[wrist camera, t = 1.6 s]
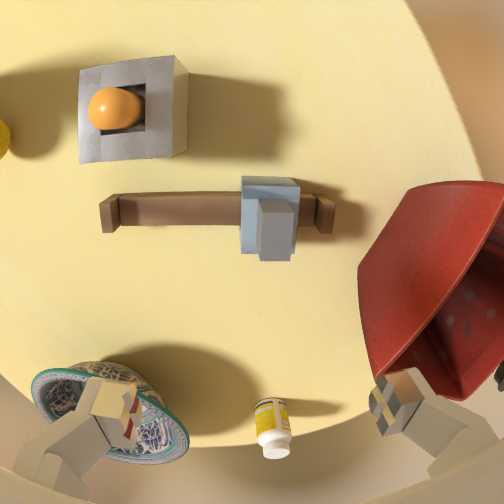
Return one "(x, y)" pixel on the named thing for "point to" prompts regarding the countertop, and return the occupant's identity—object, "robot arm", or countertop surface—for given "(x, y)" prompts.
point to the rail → (200, 209)
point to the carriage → (269, 217)
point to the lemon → (4, 138)
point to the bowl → (153, 407)
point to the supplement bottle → (273, 428)
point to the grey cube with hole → (156, 110)
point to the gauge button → (116, 109)
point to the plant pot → (438, 287)
